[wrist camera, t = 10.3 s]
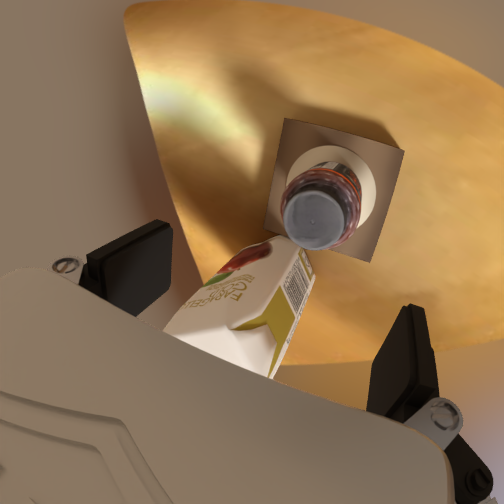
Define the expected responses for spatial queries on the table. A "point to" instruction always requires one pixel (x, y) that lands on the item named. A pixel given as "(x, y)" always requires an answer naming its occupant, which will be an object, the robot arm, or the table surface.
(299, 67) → the table surface
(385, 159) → the walnut stand
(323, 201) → the supplement bottle
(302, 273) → the juice carton
